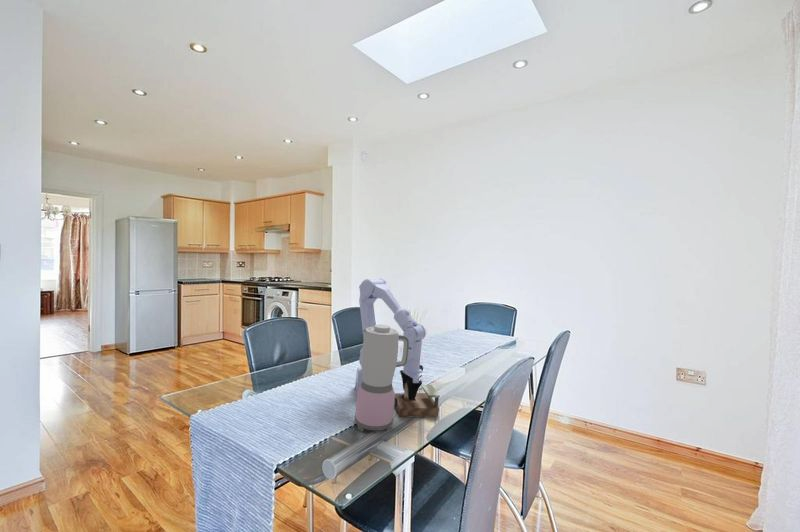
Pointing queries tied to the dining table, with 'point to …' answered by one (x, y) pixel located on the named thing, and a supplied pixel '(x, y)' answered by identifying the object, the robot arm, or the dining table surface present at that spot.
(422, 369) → the eagle figurine
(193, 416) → the dining table surface
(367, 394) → the blender
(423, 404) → the socket deck
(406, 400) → the peg
